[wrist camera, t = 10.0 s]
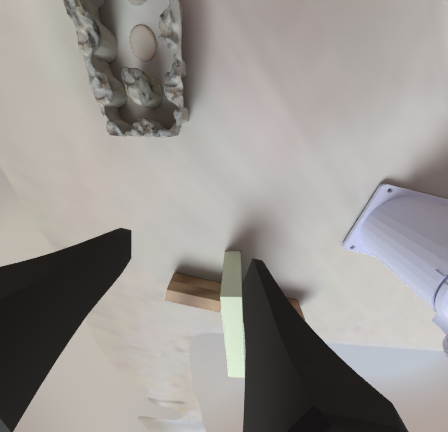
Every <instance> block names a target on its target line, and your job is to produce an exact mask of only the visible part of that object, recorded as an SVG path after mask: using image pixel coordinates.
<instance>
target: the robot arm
mask: <svg viewBox="0 0 448 432" xmlns="http://www.w3.org/2000/svg"><path fill="white" fill-rule="evenodd" d="M389 188H390V190H389V191H388V189H389ZM387 191H388V192H387ZM352 245H353V246H352ZM342 246H343V248H344V249H346V250H350V251H355V252H359V253H363V254H367V255H371V256H375V257H376V258H377V259H378V260H379V261H380V262H381V263H382V264H384V265H385V266H386V267H387V268H388V269H389V270H390V271H391V272H392V273H394V274H395V275H396V276H397V277H398V278H399V279H400V280H401V281H402V282H403V283H405V284H406V285H407V286H408V287H409V288H410V289H411V290H412V291H413V292H414V293H416V294H417V295H418V296H419V297H420V298H421V299H422V300H423V301H424V302H426V303H427V304H428V305H429V306H430V307H431V308H432V309H433V310H434V311H435V312H436V315H435V317H434V318H433V319H432V321H433V322H434V323H435V324H436V325H437V326H438V327H439V328H440V329H441V330H442V331H443V332H444V333H445V334H446V335H447V336H446V337H445V338H444V340H443V349H444V352H445V354H446V356H447V358H448V199H445V198H441V197H437V196H433V195H429V194H425V193H421V192H417V191H413V190H410V189H406V188H402V187H398V186H394V185H390V184H386V183H384V184H381V185H380V186H379V187H378V188H377V190H376V192H375V193H374V195H373V196H372V198H371V200H370V201H369V203H368V204H367V206H366V208H365V209H364V211H363V212H362V214H361V215H360V217H359V219H358V220H357V222H356V223H355V225H354V227H353V228H352V230H351V231H350V233H349V235H348V236H347V238H346V239H345V241H344V243H343V244H342ZM351 246H352V247H351ZM130 259H131V230H128V229H123V228H119V229H116V230H113V231H111V232H108V233H105V234H103V235H100V236H98V237H95V238H93V239H90V240H87V241H85V242H82V243H79V244H77V245H74V246H71V247H68V248H65V249H62V250H59V251H56V252H53V253H50V254H47V255H44V256H40V257H37V258H33V259H30V260H26V261H22V262H19V263H14V264H10V265H6V266H2V267H0V432H13V431H14V429H15V427H16V426H17V424H18V422H19V420H20V419H21V417H22V415H23V414H24V412H25V410H26V409H27V407H28V405H29V404H30V402H31V400H32V399H33V397H34V395H35V394H36V392H37V390H38V389H39V387H40V385H41V384H42V382H43V381H44V379H45V378H46V376H47V374H48V373H49V371H50V370H51V368H52V366H53V365H54V363H55V362H56V360H57V359H58V357H59V355H60V354H61V352H62V351H63V350H64V348H65V347H66V345H67V343H68V342H69V341H70V339H71V338H72V336H73V335H74V333H75V332H76V330H77V329H78V327H79V326H80V325H81V323H82V322H83V320H84V319H85V317H86V316H87V315H88V313H89V312H90V311H91V310H92V308H93V307H94V306H95V305H96V304H97V302H98V301H99V300H100V299H101V298H102V296H103V295H104V294H105V293H106V292H107V290H108V289H109V288H110V287H111V286H112V284H113V283H114V282H115V281H116V280H117V278H118V277H119V276H120V275H121V273H122V272H123V270H124V269H125V267H126V266H127V264H128V263H129V261H130ZM242 303H243V318H244V331H245V348H246V359H245V400H244V423H243V432H408V430H407V428H406V427H405V425H404V423H403V422H402V420H401V418H400V416H399V414H398V413H397V411H396V409H395V408H394V406H393V404H392V403H391V402H390V401H389V400H387V399H386V398H385V397H384V396H383V395H382V394H380V393H379V392H378V391H377V390H376V389H375V388H373V387H372V386H371V385H370V384H369V383H368V382H366V381H365V380H364V379H363V378H362V377H360V376H359V375H358V374H357V373H356V372H355V371H354V370H353V369H352V368H351V367H349V366H348V365H347V364H346V363H345V362H344V361H343V360H342V359H341V358H340V357H339V356H338V355H337V354H336V353H335V352H334V351H332V349H331V348H329V347H328V346H327V344H326V343H325V342H324V341H323V340H322V339H321V338H320V337H319V336H318V335H317V334H316V333H315V332H314V331H313V330H312V328H311V327H310V326H309V325H308V324H307V323H306V322H305V320H304V319H303V318H302V317H301V316H300V315H299V313H298V312H297V311H296V310H295V308H294V307H293V306H292V304H291V303H290V302H289V300H288V299H287V298H286V296H285V295H284V293H283V292H282V291H281V289H280V288H279V286H278V285H277V283H276V282H275V280H274V278H273V277H272V275H271V274H270V272H269V270H268V269H267V267H266V265H265V264H264V262H263V261H261V260H257V259H252V261H251V264H250V267H249V269H248V272H247V275H246V277H245V280H244V282H243V295H242Z"/></svg>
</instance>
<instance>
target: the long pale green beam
mask: <svg viewBox="0 0 448 432" xmlns="http://www.w3.org/2000/svg"><path fill="white" fill-rule="evenodd" d="M220 301H221V310H222V320H223V329H224V338H225V348H226V357H227V366H228V376H229V377H241V378H245V372H244V341H243V340H244V338H243V307H242V278H241V251H225V254H224V264H223V274H222V283H221V293H220Z"/></svg>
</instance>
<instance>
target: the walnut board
mask: <svg viewBox="0 0 448 432" xmlns="http://www.w3.org/2000/svg"><path fill="white" fill-rule="evenodd" d="M220 293H221V283H218V282H214V281H210V280H205V279H201V278H196V277H192V276H187V275H183V274H179V273H174V275H173V277H172V279H171V281H170V284H169V286H168V288H167V292H166V299H165V301H170V302H174V303H179V304H184V305H188V306H193V307H197V308H202V309H206V310H211V311H215V312H220V310H221V301H220ZM242 295H243V288H242ZM287 299H288V300H289V302H290V303H291V304H292V306H293V307H294V308H295V310H296V311H297V312H298V313H299V315H300V316H301V317H302V318H303V319H304V316H303V313H302V310H301V308H300V305H299V302H298V300H294V299H289V298H287ZM242 307H243V303H242ZM304 320H305V319H304Z"/></svg>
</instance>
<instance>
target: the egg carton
mask: <svg viewBox="0 0 448 432" xmlns="http://www.w3.org/2000/svg"><path fill="white" fill-rule="evenodd" d="M127 1H128V2H129V3H131V4H132V5H135V6H139V5H142V4H143V3H145V2H146V1H147V0H127ZM63 2H64V5H65V7H66V10H67V14H68V15H69V17H70V18H71V20H72V21H73V22H74V24H75V27H76V30H77V36H78V45H79V49H80V51H81V53H82V55H83V56H84V60H85V64H86V68H87V71H88V74H89V80H90V86H91V88H92V90H93V93H94V95H95V98H96V100H97V102H98V104H99V106H100V108H101V111H102V114H103V116H104V118H105V119H106V120H107V125H106V128H107V132H108V133H109V135H116V136H127V135H129V136H147V137H153V136H155V137H172V136H176V135H178V134H179V131H180V127H181V124H182V123H184V122H186V121H189V112H188V109H187V108H185V107H183V96H182V93H183V84H182V81H181V78H183V77H186V65H185V61H184V60H183V59H182V53H181V38H182V25H181V23H182V7H181V4H180V2H179V0H170V5H169V7H168V8H167V9H166V10H165V11H164V12H163V14H161V15H160V18H161V19H160V34H161V36H159V38H160V39H161V40H162V42H163V43H164V44H165V45H166V46H167V47H168V48H169V49H170V51H171V52H172V53H173V54H174V59H175V62H174V63H173V64H172V70H171V72H167V73H166V75H165V79H166V81H165V85H164V92H165V95H166V97H167V99H168V100H169V101H171V102H173V103H175V104H176V105H177V107H178V108H177V109H175V111H174V113H173V117H174V118H175V119H176V122H175V123H174V124H173V126H172V128H171V129H170V130H167V129H165V127H164V126H163V125H162V124H161V123H160V122H158V121H154V120H147V119H144V118H138V120H137V122H136V123H133V124H132V128H131V126H130V125H129V124H128V123H126V122H124V121H122V120H121V119H120V116H119V110H118V108H120V107H122V106H123V105H124V104H125V102H126V100H127V96H128V97H129V98H130V99H131V100H132V101H133V102H134V103H136V104H138V105H141V106H145V107H143V108H155V107H157V106H158V105H159V104H160V103H161V101H162V98H163V92H162V89H161V87H160V85H159V84H158V82H157V81H156V80H155V79H154V78H152V77H150V76H149V75H147V74H146V73H144V72H143V71H141V70H139V69H137V68H127V67H126V68H123V69H122V71H121V78H122V80H123V82H124V85H125V88H124V86H123V84H122V83H121V82H120V81H118V80H117V79H115V78H113V75H112V72H111V69H110V66H109V62H112V61H113V60H114V59H115V57H116V55H117V51H118V46H117V42H116V40H115V37H114V35H113V34H112V32H111V31H110V30H109V29H107V28H106V27H105V26H104V25H102V24H101V23H100V19H99V14H98V10H99V7H101V6H102V5H103V4H104V2H105V0H63ZM130 47H131V49H132V52H133V53H134V55H135V56H136V57H137V58H138V59H139V60H141V61H149V60H151V59H152V58H153V57H154V55H155V53H156V39H155V37H154V34H153V33H152V32H151V30H150V29H149V28H148V27H147V26H145V25H137V26H136V27H134V29H133V30H132V31H131V34H130ZM176 62H177V63H178V66H177V65H176ZM125 89H126V90H125ZM126 93H127V94H126Z"/></svg>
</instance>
